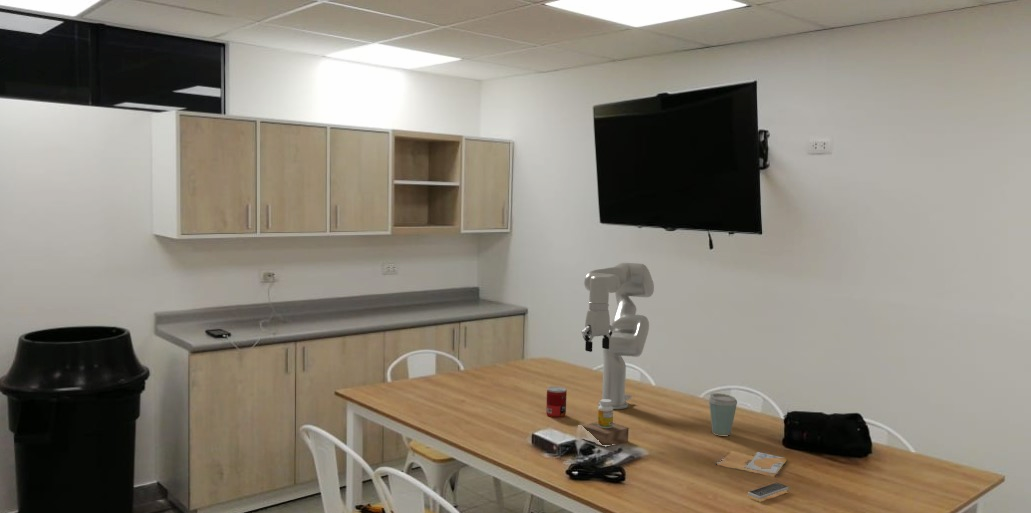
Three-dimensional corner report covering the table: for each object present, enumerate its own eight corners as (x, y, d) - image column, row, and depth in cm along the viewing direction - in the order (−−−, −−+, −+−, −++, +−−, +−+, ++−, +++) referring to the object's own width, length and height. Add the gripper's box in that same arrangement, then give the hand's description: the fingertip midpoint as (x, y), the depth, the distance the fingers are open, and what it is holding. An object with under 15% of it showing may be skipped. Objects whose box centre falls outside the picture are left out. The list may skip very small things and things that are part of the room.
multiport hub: (747, 499, 234) (747, 491, 234) (776, 489, 243) (776, 482, 243) (759, 504, 231) (760, 496, 230) (788, 493, 239) (789, 486, 239)
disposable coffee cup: (736, 432, 300) (738, 394, 298) (734, 440, 289) (736, 400, 288) (708, 429, 303) (710, 391, 302) (705, 437, 293) (707, 397, 292)
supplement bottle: (596, 424, 288) (597, 398, 288) (611, 424, 289) (611, 398, 288) (598, 428, 283) (599, 402, 282) (613, 428, 283) (614, 402, 282)
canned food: (564, 418, 312) (565, 391, 311) (544, 417, 314) (545, 390, 313) (567, 413, 320) (567, 387, 319) (547, 412, 321) (548, 385, 320)
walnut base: (603, 433, 294) (604, 420, 294) (628, 441, 285) (628, 427, 285) (581, 439, 286) (581, 425, 286) (605, 447, 277) (606, 433, 277)
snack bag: (775, 479, 252) (775, 472, 252) (713, 466, 262) (713, 460, 262) (788, 463, 268) (789, 456, 268) (730, 451, 278) (730, 445, 278)
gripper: (606, 304, 316) (605, 346, 318) (576, 307, 305) (575, 350, 306) (620, 306, 311) (619, 349, 312) (590, 309, 299) (588, 354, 301)
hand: (597, 349), depth 309 cm, fingers open, 9 cm apart
